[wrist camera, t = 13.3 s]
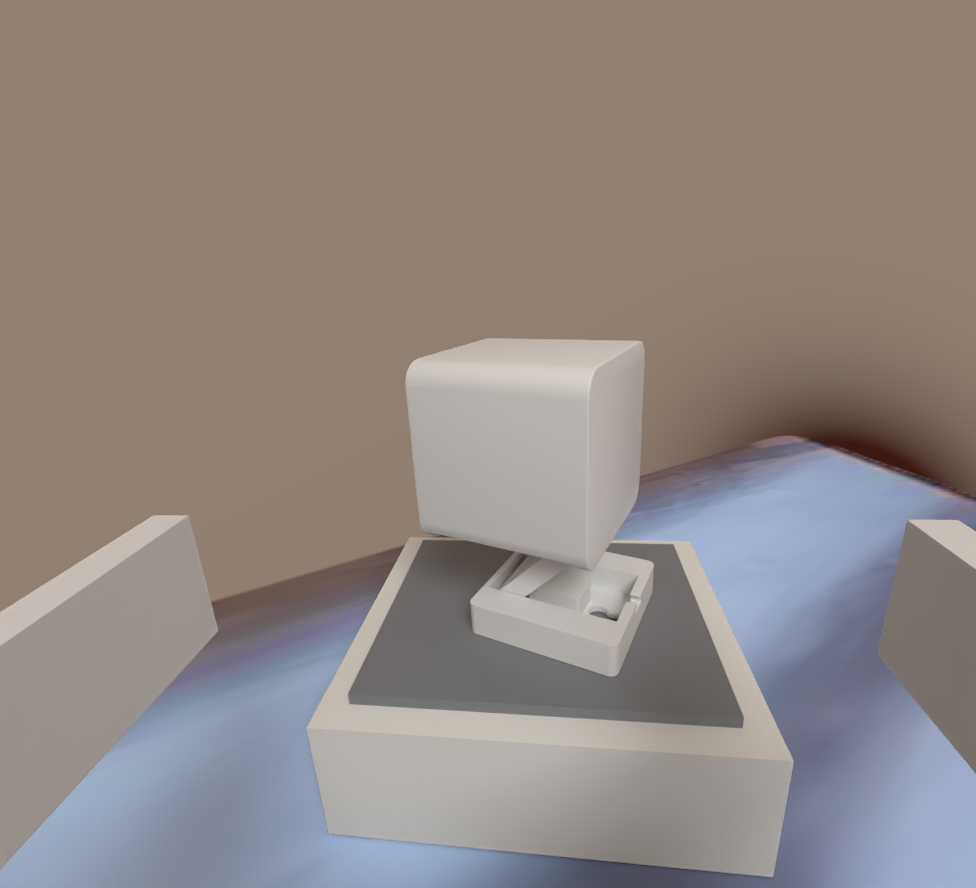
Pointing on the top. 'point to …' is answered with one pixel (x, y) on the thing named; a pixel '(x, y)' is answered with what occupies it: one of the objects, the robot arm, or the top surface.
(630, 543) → the cream gray-topped block
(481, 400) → the security camera
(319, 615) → the top surface
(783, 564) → the top surface
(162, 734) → the top surface
